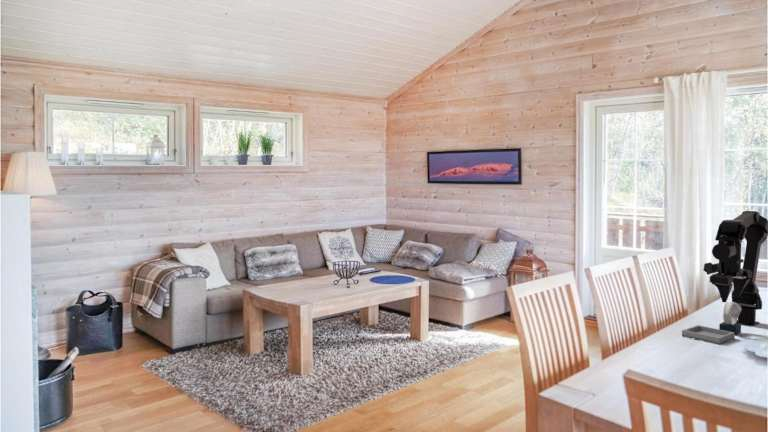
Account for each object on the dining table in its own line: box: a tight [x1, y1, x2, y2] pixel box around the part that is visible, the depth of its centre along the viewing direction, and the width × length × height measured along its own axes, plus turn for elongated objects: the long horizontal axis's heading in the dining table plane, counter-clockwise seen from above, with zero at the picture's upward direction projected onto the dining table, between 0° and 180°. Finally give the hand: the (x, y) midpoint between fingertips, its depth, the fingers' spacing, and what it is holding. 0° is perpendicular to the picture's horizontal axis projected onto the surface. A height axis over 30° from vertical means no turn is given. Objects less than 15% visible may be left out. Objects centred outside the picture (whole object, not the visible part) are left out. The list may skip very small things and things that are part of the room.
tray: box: [681, 324, 735, 345], centre depth 208 cm, size 11×13×2 cm
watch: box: [718, 301, 742, 337], centre depth 213 cm, size 6×8×11 cm
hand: (730, 300), depth 212 cm, fingers open, 9 cm apart
